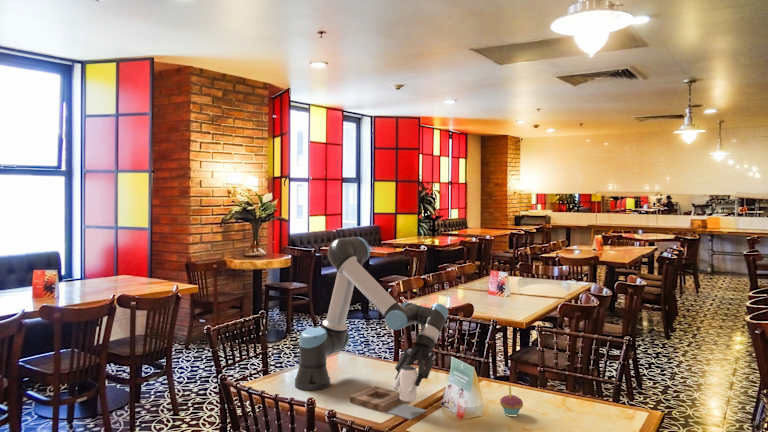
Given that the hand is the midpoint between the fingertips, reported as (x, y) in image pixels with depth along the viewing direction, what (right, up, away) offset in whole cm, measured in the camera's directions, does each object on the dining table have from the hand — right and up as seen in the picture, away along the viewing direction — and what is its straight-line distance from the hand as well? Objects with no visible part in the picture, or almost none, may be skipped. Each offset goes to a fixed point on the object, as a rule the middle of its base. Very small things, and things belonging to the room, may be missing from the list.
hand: (402, 390), depth 214 cm
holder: (-9, -9, +14) cm, 19 cm away
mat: (+2, -9, +3) cm, 10 cm away
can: (+2, -4, +3) cm, 6 cm away
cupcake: (+41, -10, +3) cm, 42 cm away
